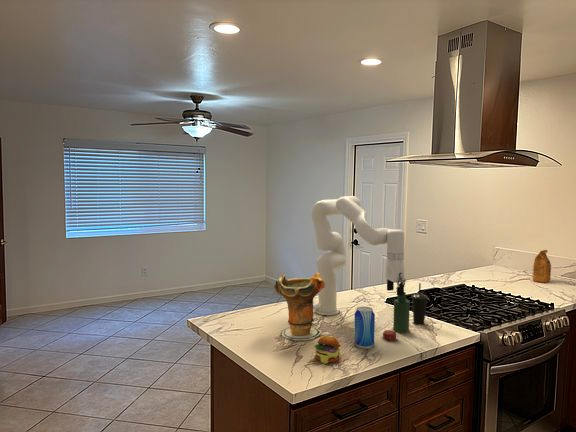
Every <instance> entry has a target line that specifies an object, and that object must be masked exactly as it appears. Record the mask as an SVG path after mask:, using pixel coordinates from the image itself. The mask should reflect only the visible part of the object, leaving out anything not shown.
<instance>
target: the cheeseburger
mask: <svg viewBox="0 0 576 432" xmlns="http://www.w3.org/2000/svg"><path fill="white" fill-rule="evenodd" d="M313 347H314V350H315V358H316V359H317V360H318V361H320V362H321V364H328V363H333V362H337V361H339V359H340V356H341V349H340V347H342V346H341V344H340V341H339V339H338V338H337V337H333V336H329V335H321V336H320V337H319V338H318V339H317V344H314V346H313Z"/></svg>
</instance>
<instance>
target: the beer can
mask: <svg viewBox="0 0 576 432" xmlns="http://www.w3.org/2000/svg"><path fill="white" fill-rule="evenodd" d="M353 320H354V321H353V322H354V327H353V329H354V331H353V338H354V339H353V342H354V344H355V346H356V347H357V348H359V349H363V350H368V349H371V348H373V346H374V345H375V327H376V325H375V323H376V322H375V321H376V315H375V312H374V310H373V308H372V307H369V306H358V307H356V310H355V312H354V319H353Z"/></svg>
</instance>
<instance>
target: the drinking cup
mask: <svg viewBox="0 0 576 432" xmlns="http://www.w3.org/2000/svg"><path fill="white" fill-rule="evenodd" d="M421 285H422V284H421V283H420V282H419V283H418V292H417V293H416V292H415V293H413V294H411V301H412V317H413V318H412V319H413V324H414V325H416V326H417V325H418V326H423V325H425V318H426V311H427V302H428V298H429V296H428V295H426V294H424V293H421V288H422V286H421Z"/></svg>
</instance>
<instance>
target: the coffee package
mask: <svg viewBox="0 0 576 432" xmlns="http://www.w3.org/2000/svg"><path fill="white" fill-rule="evenodd" d="M548 251H549V250H547V249H543V250H540V251H539V253H538V254H537V255H536V256H535V257H534V261H533V265H532V282H537V283H548V282H550V280H551V277H552V276H551V275H552V273H551V272H552V263H551V261H550V259H549V257H548V255H547V253H548Z"/></svg>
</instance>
